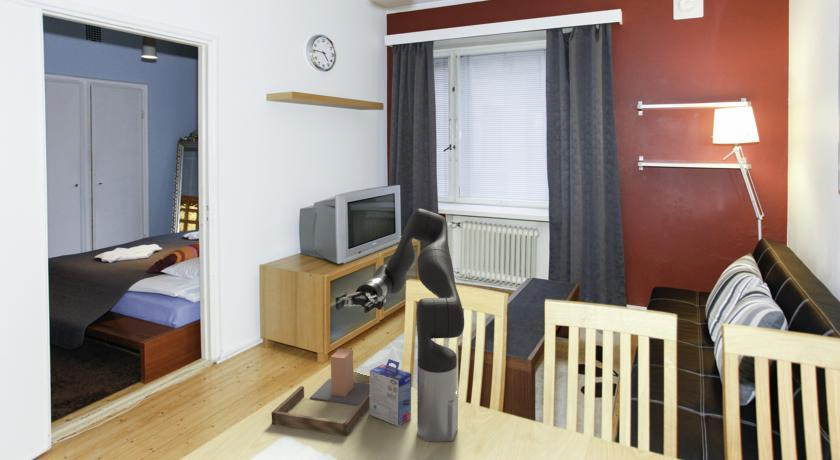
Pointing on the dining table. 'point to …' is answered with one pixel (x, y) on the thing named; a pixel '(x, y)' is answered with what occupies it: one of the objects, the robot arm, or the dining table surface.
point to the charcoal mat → (351, 398)
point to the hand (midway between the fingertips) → (351, 308)
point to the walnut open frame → (315, 423)
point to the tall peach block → (342, 372)
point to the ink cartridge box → (390, 393)
